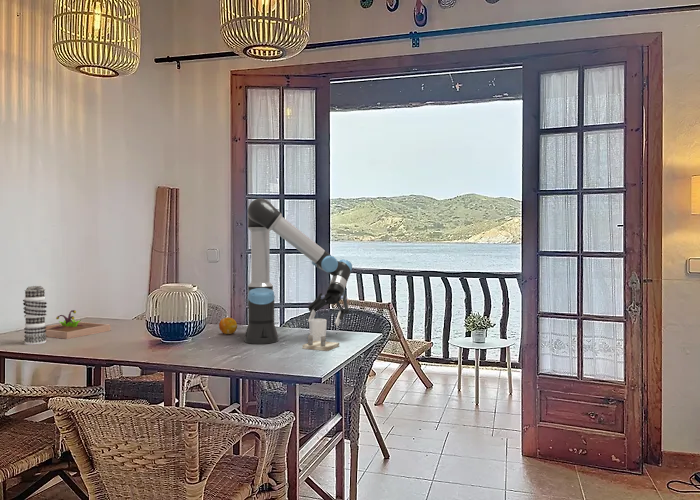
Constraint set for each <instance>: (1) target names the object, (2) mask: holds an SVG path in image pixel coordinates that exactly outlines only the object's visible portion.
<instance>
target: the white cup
mask: <svg viewBox="0 0 700 500" xmlns="http://www.w3.org/2000/svg"><path fill="white" fill-rule="evenodd" d="M308 320H309V319H308ZM308 323H309V324H308V325H309V335H313V341H321V336H325V337H326V336H327V324H328V323H327V319H326V318H314V319H310V320H309V322H308ZM326 339H327V337H326V338H325V341H327V340H326Z"/></svg>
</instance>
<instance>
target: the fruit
mask: <svg viewBox="0 0 700 500" xmlns="http://www.w3.org/2000/svg"><path fill="white" fill-rule="evenodd" d="M218 324H219V325H218V328H219V330H220V331H221V333H223V334H225V335H233V334H234V333H235V332H236V331H237V329H238V323H237V321H236V320H235V318H232V317H229V316H228V317H227V316H226V317H223V318H221V320H220V321H219V323H218Z"/></svg>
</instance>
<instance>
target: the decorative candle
mask: <svg viewBox="0 0 700 500" xmlns="http://www.w3.org/2000/svg"><path fill="white" fill-rule="evenodd" d="M45 290H46V289H45V288H44V287H43V286H41V285H35V286H34V285H33V286H28V287H26V289H25V290H24V299H22V301H23V303H22V304H23V306H24V307H23V313H24V315H23V317H24V319H25V324H24V328H23V329H24V333H25V335H23V336H24V345H31V346H32V345H41V344H45V343H47V338H48V337H45V336H46V333H45V332H46V330H45V328H46V326H47V325H46V316H47V310H46V308H47V304H48V303H47V301H46V297H45V296H46V295H45Z"/></svg>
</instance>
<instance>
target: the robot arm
mask: <svg viewBox="0 0 700 500" xmlns="http://www.w3.org/2000/svg"><path fill="white" fill-rule="evenodd" d="M247 229H248V230H249V231H250V235H251V236H250V240H251V241H250V242H251V243H250V246H251V247H250V250H251V253H250V254H251V256H250V258H251V259H250V260H251V261H250V262H251V270H250V272H251V274H250V277H251V282H249V284H248V285H247V287H248V288H247V306H248V310H247V311H248V312H247V313H248V314H247V317H248V324H247V327H246V329H245V330H246V331H245V335H244V343H245V344H251V345H252V344H253V345H266V344H274V343H277V342H279V334H278V331H277V330H278V329H277V327H276V325H275V299H276V296H275V291H274V286H273V283H271V282H270V277H271V276H270V274H271V273H270V271H271V270H270V266H271V265H270V263H271V262H270V260H271V259H270V253H271V252H270V231H273V232H274V233H275V234H276V235H278V236H279V237H280V238H281V239H283V240H285V241H286V242H287V243H288V244H289V245H291V246H292V247H293V248H294V249H296V250H297V251H299V252H300V253H301V254H303V255H304V256H305V257H306V258H308V260H310V261H311V264H312V265H313V266H314V267H316V268H318V269H319V270H321V271H323V272H325V273H327V274H329V275H331V276H332V277H331V280H330V282H329V286H328V287H327V289H326V293H325V294H323V293H319V295H318V296H317V297H316V298H315V299H314V300H313V302H311V303H310V304H309V305H308V306H307V309H308V310H309V311H308V312H309V314H308V316H309V318H308V320H307V322H308V323H309V320H310V319H315V316H316V312H317V311H319V310H320V309H322V308H323V307H324V306H328V305H335V304H336V305H337V307H338V309H339V310H338V313H337V317H336V318H335V319H336V320H335V322H334V323H335V326H336V327H339V325H340V323H341V320H343V318H344V317H345V314H348V315H349V313H350V310H349V305H348V296H347V294H344V291H345V289H346V287H347V283H348V281H349V278H350V276H351V274H352V270H353V264H352V263H351V262H350V261H349V260H347V259H344V258H343V259H342V258H341V259H340V260H338V259H337V258H336V257H335V256H333V255H331V254H330V253H329V252H327V250H325V249H324V248H323V247H321V246H320V245H318V243H316V242H315V241H314V240H313V239H311V238H310V237H309V236H307V235H306V234H305V233H304V232H302V231H301V230H300V229H298V228H297V227H296V226H295V225H293V224H292V223H291V222H289V220H287V219H286V218H285V217H283V214H282V212H280V210H278V209H277V208H276V207H275V205H273V204H272V203H271V202H270V201H269V200H267V199H265V198H260V197H259V198H255V199H254V200H252V201H251V202H250V203H249V204H248V207H247ZM341 300H342V302H343V306H344V308H343V306H342V305H341V303H340V301H341Z"/></svg>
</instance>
